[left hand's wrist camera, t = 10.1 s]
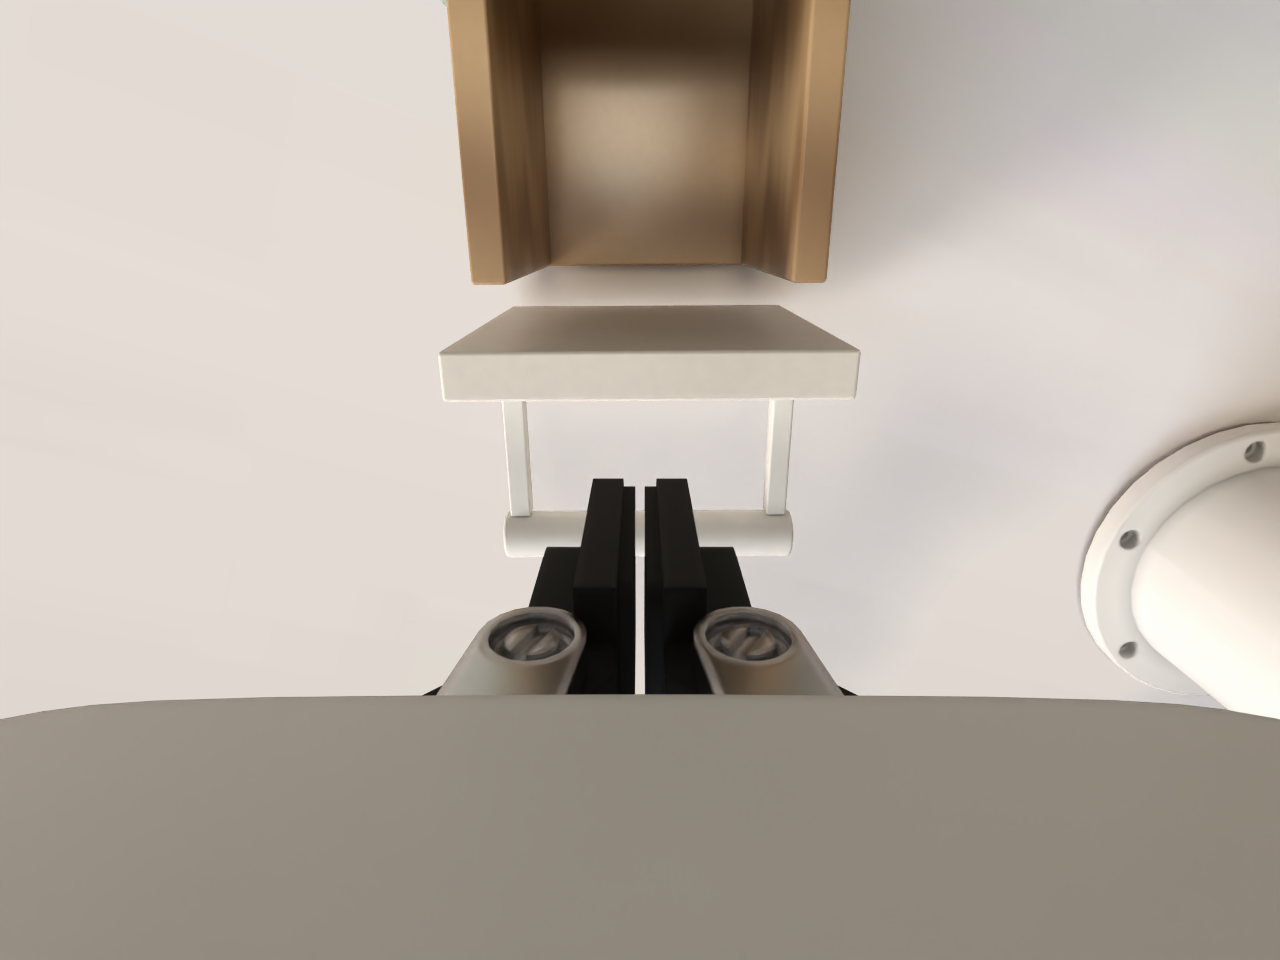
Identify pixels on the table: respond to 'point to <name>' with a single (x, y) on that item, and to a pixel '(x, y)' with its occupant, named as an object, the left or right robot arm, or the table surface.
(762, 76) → the drawer
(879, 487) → the table surface
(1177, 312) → the table surface
